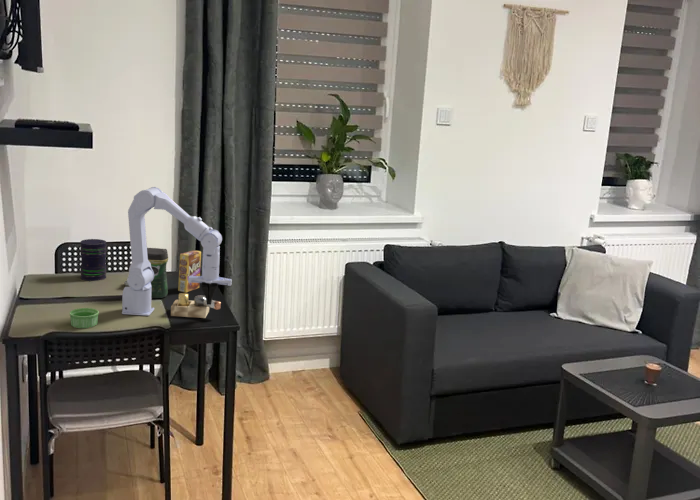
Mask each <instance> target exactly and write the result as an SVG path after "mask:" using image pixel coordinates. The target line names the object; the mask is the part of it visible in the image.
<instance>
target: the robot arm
mask: <svg viewBox="0 0 700 500" xmlns="http://www.w3.org/2000/svg"><path fill="white" fill-rule="evenodd" d="M152 208H153V209H154V210H162V211H165V212H167V213H169V214H170V215H171V216H173V217H174V218H175V219H176V220H178V221H179V222H181V223H182V224H183V226H184V229H185V231H187V232H188V233H189V234H190V235H192V236H193V237H194V238H195V239H196V240H198V241H199V242H200V244H201V246H202V260H201V262H202V263H201V267H202V268H201V275H200V276H189V278H188V283H192V282H193V283H200V284H201V285H200V287H201V289H202V291H203V293H204V296H205V297H206V302H207V304H209V305H211V303H212V300H213V298H214V295H215V293H216V290H217V288H218V286H219V285H222V286H229V287H231V286H232V281H233V280H232V278H226V277H221V276H220V275H219V274H220V261H221V260H220V259H221V258H220V257H221V256H220V253H221V252H220V251H221V249H220V248H221V246H220V245H221V244H222V241H223V235H222V234H221V233H220V231H219V230H217V229H213V227H212V226H209V225H207V223H205V222H203V221H202V220H203V219H202V218H201V216H199V217H198V216H196V215H194V216H193V215H192V216H191V215H190V214H189V213H188V212H187V211H185V210H184V209H183V208H182V207H181V206H180V205H179V204H177V203H176V202H175V201H174V200H173V199H172V198H171V197H170V196H169V195H168V194H167V193H166V192H164V191H162V190H161V189H160V188H159V187H156V186H152V187H149V188H147V189H143V190H140V191H139V192H137V193H136V194H135V195H133V200H132V202H131V203H130V206H129V207H128V210H127V217H128V229H129V239H130V253H131V264H130V265H129V268H128V276H127V279H126V281H127V282H128V286H125V287H124V288H123V289H122V299H121V301H122V303H121V304H122V305H121V308H122V310H121V311H122V312H121V314H122V315H130V316H131V315H132V316H147V317H148V316H151V314H152V312H153V311H154V310H155V307H152V298H151V291H152V286H151V282H152V281H153V279H154V272H153V270H152V268H151V263H150V262H149V260H148V255H147V248H148V246H147V245H148V244H147V242H148V241H147V231H146V217H145V216H146V214H148V212H150V211H151V209H152Z"/></svg>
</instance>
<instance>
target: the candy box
mask: <svg viewBox="0 0 700 500" xmlns="http://www.w3.org/2000/svg"><path fill="white" fill-rule="evenodd" d="M201 262H202V251H201V250H193V249H192V250H190V251H186V252H183V253H180V254H179V267H178V270H179V271H178V287H177V291H178V292H180V293H187V294H188V292H192V291H195V290H197V289H200V284H201V283H193V282H192V283H188V278H189V276H201V267H202V263H201Z"/></svg>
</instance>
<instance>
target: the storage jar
mask: <svg viewBox="0 0 700 500" xmlns="http://www.w3.org/2000/svg"><path fill="white" fill-rule="evenodd" d="M79 251H80V257H81V258H80V262H81V264H80V267H79V268H80V269H79V270H80V271H79V272H80V279H81V280H83V281H89V282H98V281H103V280H105V279H107V264H106V261H107V260H106V259H107V258H106V256H107V241H106V240H103V239H100V238H99V239H98V238H97V239H96V238H88V239H87V238H86V239H83V240H81V241H80V250H79Z"/></svg>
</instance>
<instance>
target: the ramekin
mask: <svg viewBox="0 0 700 500" xmlns="http://www.w3.org/2000/svg"><path fill="white" fill-rule="evenodd" d="M99 314H100V311H99V310H98V309H96V308H92V307H81V308H75V309H72V310H70V311H69V316H70V325H71V327H73V328H75V327H76V328H75V329H90V328H89V327H91V328H94V327H96V326H97V325H98V320H99ZM95 325H96V326H95ZM93 326H94V327H93Z"/></svg>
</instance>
